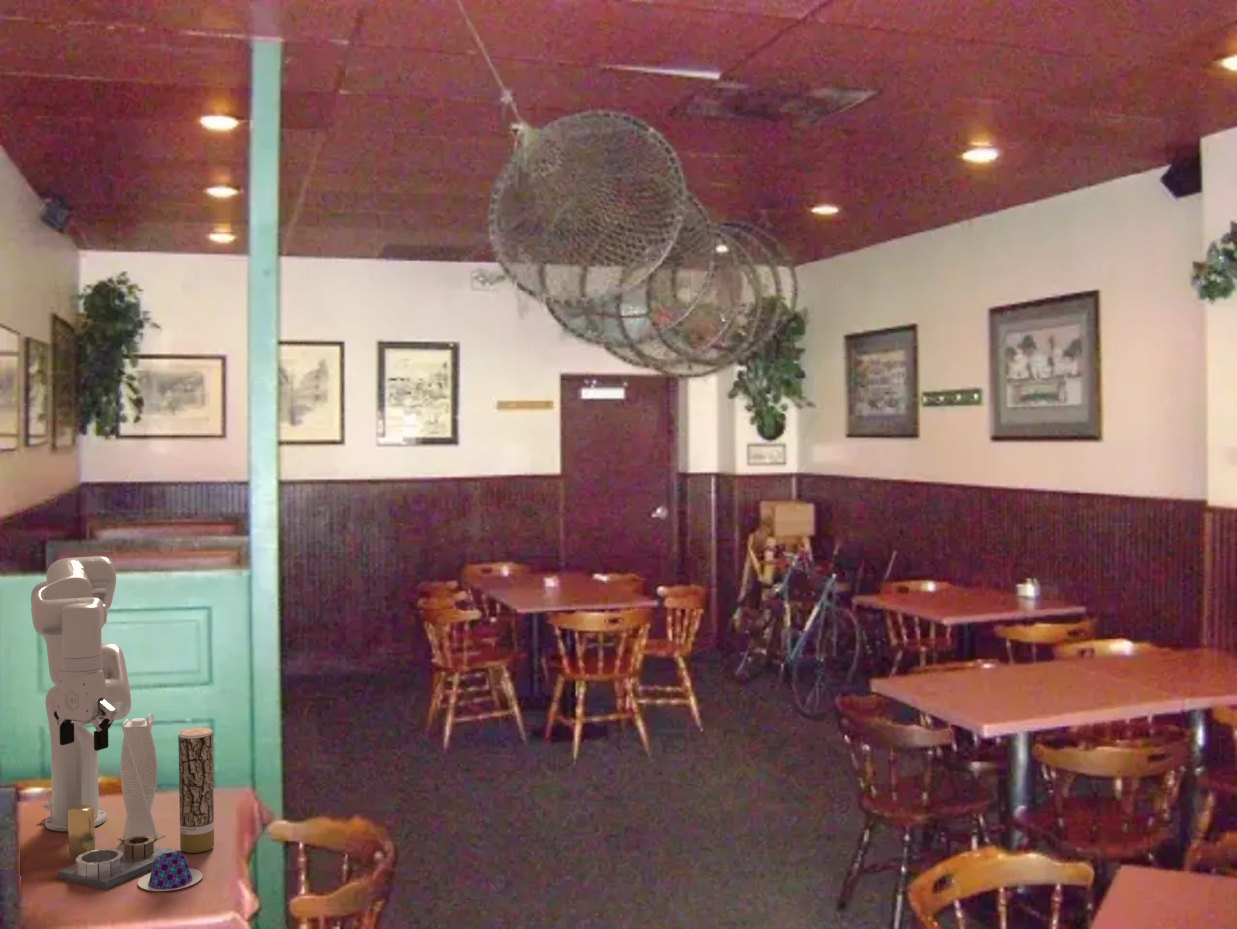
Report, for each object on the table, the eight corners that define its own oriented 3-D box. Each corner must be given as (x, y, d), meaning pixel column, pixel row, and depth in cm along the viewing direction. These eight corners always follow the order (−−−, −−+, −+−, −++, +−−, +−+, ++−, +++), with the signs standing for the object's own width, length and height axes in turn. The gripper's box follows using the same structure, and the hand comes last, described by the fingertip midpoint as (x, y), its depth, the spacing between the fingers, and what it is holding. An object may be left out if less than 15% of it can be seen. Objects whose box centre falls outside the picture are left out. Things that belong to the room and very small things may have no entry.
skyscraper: (169, 839, 275) (167, 711, 273) (136, 850, 268) (133, 718, 266) (146, 831, 280) (144, 705, 278) (113, 841, 273) (110, 712, 271)
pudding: (152, 871, 257) (151, 845, 256) (211, 871, 256) (210, 846, 256) (127, 894, 245) (127, 867, 244) (189, 895, 244) (189, 868, 244)
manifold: (58, 878, 252) (57, 858, 251) (133, 847, 269) (133, 829, 268) (105, 889, 246) (105, 869, 246) (179, 857, 263) (179, 838, 263)
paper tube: (203, 855, 264) (201, 736, 263) (173, 853, 265) (171, 735, 264) (220, 844, 271) (218, 728, 269) (191, 842, 272) (189, 726, 271)
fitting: (63, 858, 262) (62, 810, 262) (83, 850, 267) (82, 803, 266) (80, 862, 260) (79, 814, 260) (100, 854, 265) (99, 807, 264)
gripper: (37, 663, 262) (39, 746, 263) (98, 671, 254) (100, 756, 255) (67, 657, 269) (69, 737, 270) (127, 664, 261) (129, 746, 262)
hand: (84, 746), depth 262 cm, fingers open, 9 cm apart
